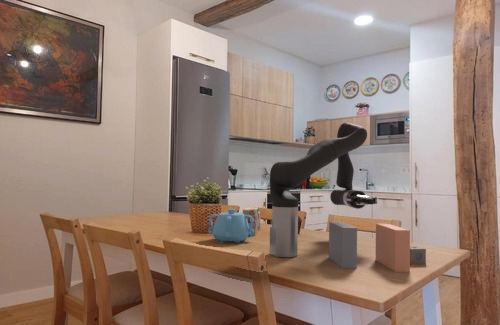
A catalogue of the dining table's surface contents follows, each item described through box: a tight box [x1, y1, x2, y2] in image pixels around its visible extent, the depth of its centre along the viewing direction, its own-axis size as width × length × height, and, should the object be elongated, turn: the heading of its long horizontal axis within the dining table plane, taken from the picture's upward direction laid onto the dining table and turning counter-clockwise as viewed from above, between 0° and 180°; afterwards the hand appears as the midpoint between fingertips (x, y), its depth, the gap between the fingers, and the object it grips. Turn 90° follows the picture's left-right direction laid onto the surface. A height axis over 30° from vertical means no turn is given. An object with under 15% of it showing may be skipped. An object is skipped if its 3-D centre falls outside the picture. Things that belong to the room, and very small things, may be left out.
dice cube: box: [410, 245, 427, 265], centre depth 123 cm, size 5×5×5 cm
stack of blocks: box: [242, 206, 261, 237], centre depth 181 cm, size 21×6×12 cm, turn 172°
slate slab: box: [328, 221, 358, 269], centre depth 121 cm, size 15×4×12 cm, turn 4°
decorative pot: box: [208, 208, 254, 244], centre depth 157 cm, size 16×16×14 cm
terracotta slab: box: [375, 223, 411, 273], centre depth 118 cm, size 15×4×12 cm, turn 3°
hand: (370, 201), depth 137 cm, fingers closed
